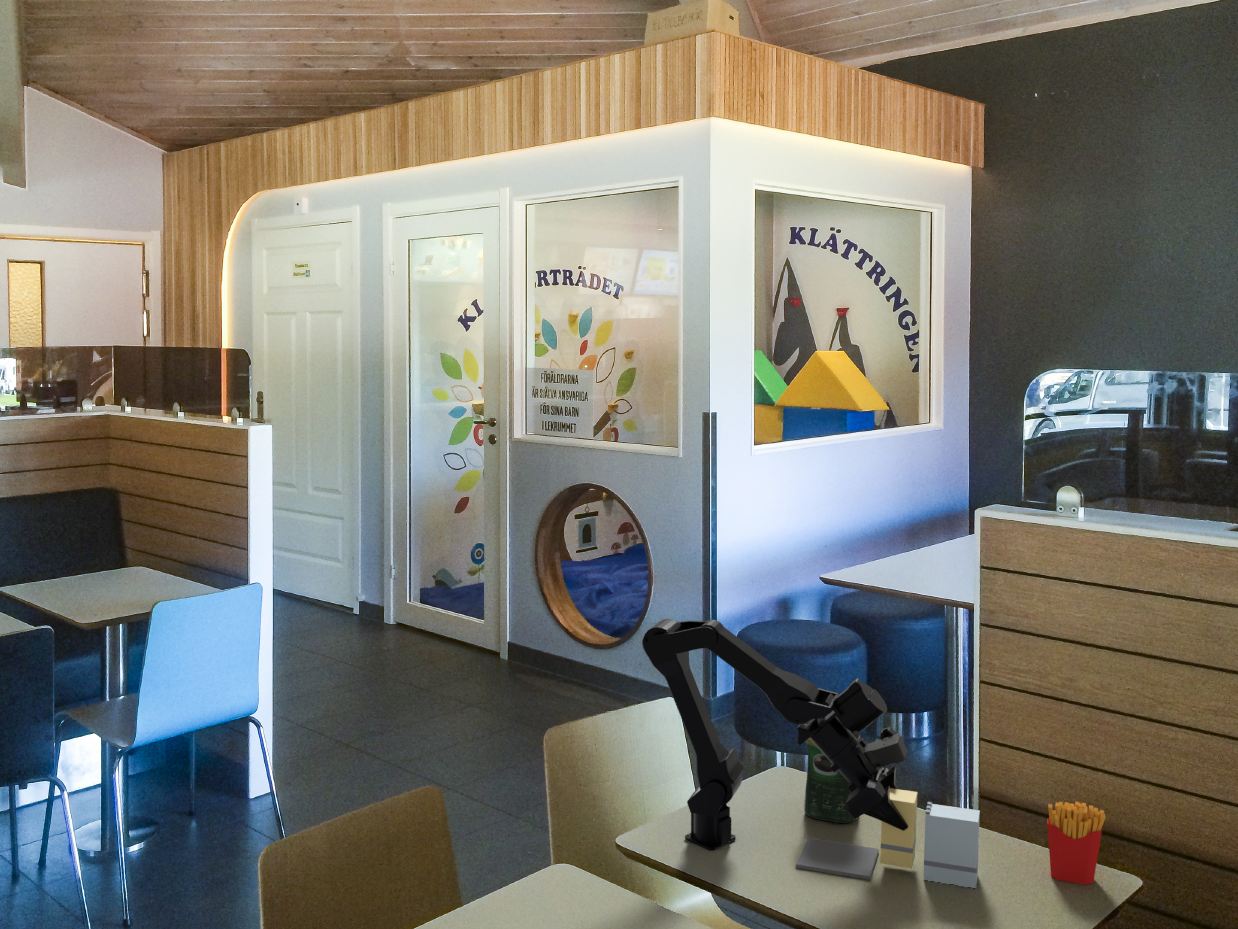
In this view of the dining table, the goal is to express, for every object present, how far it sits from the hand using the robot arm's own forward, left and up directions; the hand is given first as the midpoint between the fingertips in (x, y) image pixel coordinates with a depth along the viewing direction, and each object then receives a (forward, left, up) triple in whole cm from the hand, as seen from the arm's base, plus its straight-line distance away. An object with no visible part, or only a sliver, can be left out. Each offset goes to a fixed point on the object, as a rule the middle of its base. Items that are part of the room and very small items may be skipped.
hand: (907, 822), depth 179 cm
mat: (-10, -5, -8) cm, 14 cm away
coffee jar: (-21, +9, -9) cm, 24 cm away
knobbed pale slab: (+6, +3, -8) cm, 11 cm away
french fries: (+20, +17, -8) cm, 28 cm away
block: (-1, -1, -7) cm, 7 cm away
